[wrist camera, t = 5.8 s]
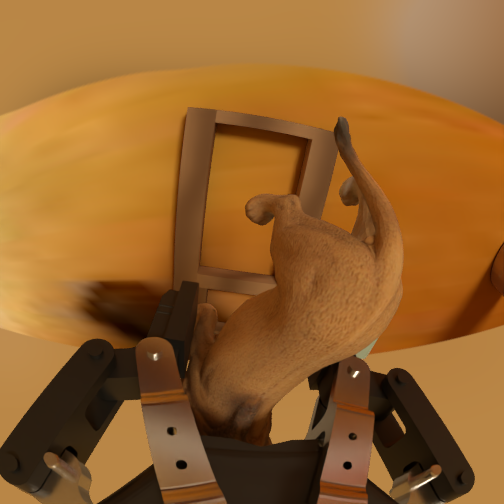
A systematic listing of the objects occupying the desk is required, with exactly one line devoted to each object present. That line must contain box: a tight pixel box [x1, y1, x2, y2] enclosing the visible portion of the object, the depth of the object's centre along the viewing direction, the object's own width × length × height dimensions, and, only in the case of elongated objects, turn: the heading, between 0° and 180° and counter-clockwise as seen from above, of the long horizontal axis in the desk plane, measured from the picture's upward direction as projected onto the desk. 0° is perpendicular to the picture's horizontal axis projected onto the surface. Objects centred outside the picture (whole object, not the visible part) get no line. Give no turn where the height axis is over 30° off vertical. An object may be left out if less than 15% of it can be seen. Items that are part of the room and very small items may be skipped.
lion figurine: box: [181, 117, 403, 446], centre depth 9 cm, size 15×5×9 cm, turn 159°
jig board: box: [174, 107, 338, 334], centre depth 25 cm, size 12×22×2 cm, turn 170°
